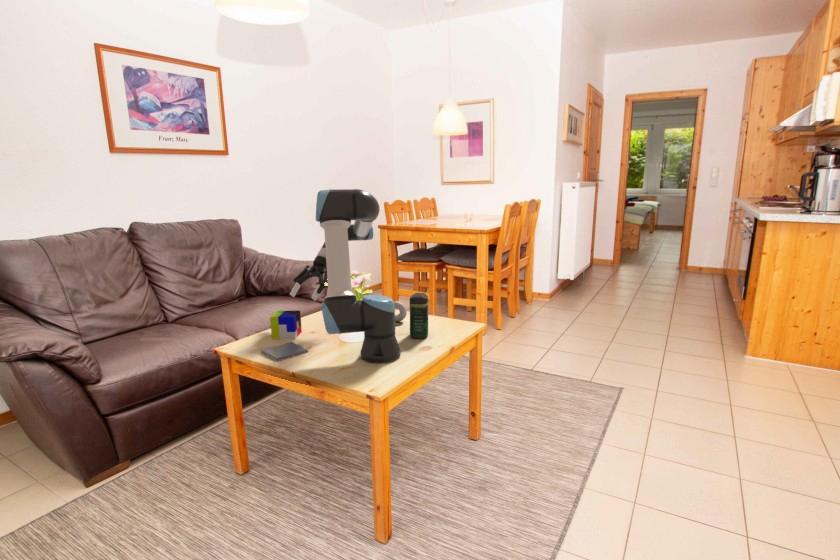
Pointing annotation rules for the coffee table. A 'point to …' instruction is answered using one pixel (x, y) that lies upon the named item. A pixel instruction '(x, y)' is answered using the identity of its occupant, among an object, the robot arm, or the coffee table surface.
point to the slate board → (284, 351)
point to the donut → (402, 311)
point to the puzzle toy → (285, 324)
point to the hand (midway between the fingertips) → (302, 297)
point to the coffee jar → (419, 315)
